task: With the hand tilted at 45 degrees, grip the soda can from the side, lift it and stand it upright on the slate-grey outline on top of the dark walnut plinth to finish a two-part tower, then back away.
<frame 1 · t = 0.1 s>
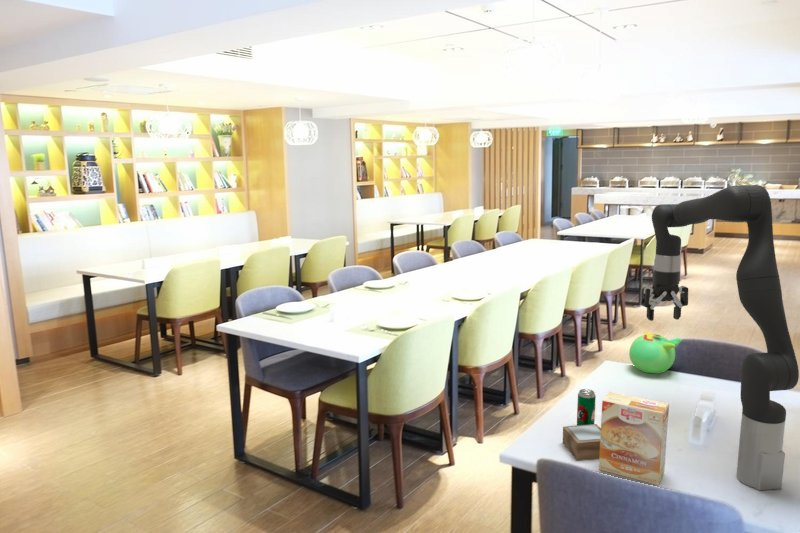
hand: (663, 319, 191), 29 cm above the table, tool pointing down, fingers open, 8 cm apart
coffeecake box: (631, 472, 158), on the table
soda can: (585, 430, 182), on the table
walnut plinth: (586, 449, 170), on the table
toy bird: (652, 371, 228), on the table
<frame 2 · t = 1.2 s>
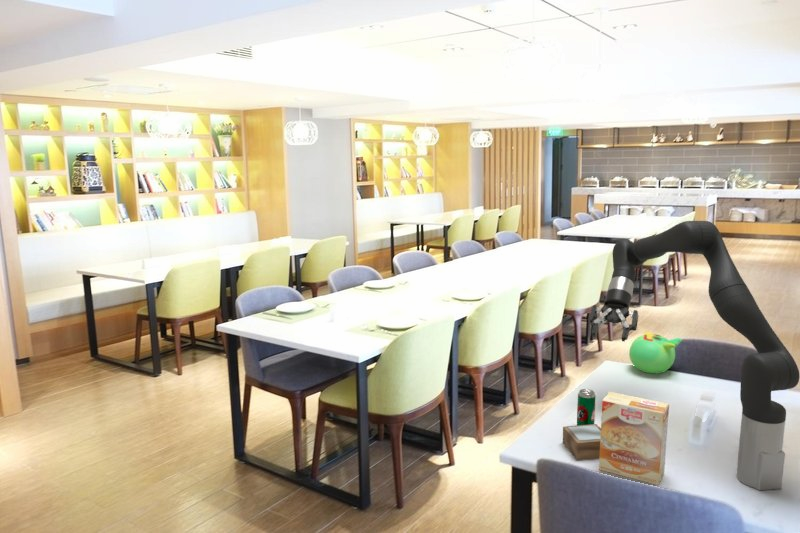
hand: (608, 338, 188), 25 cm above the table, tool tilted 45°, fingers open, 8 cm apart
nothing on the table moved.
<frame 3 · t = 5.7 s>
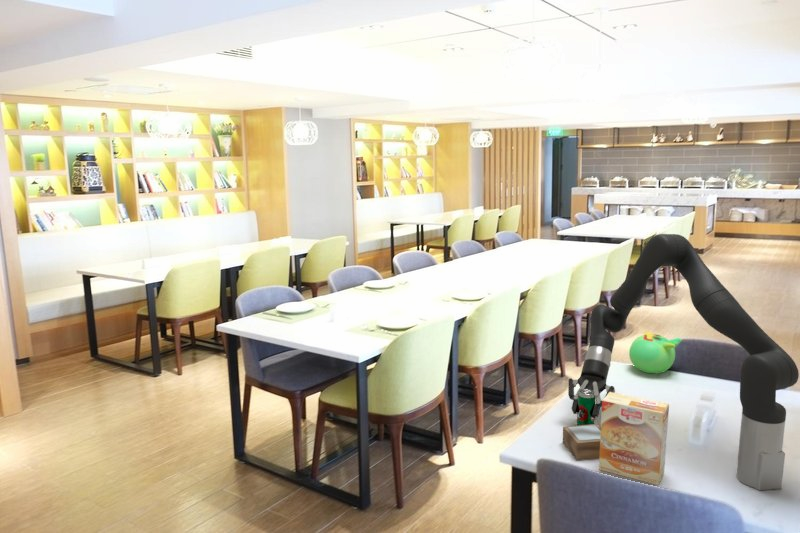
hand: (584, 414, 180), 5 cm above the table, tool tilted 45°, fingers closed on soda can, 5 cm apart
soda can: (585, 430, 182), on the table, touching gripper
everything else where it was.
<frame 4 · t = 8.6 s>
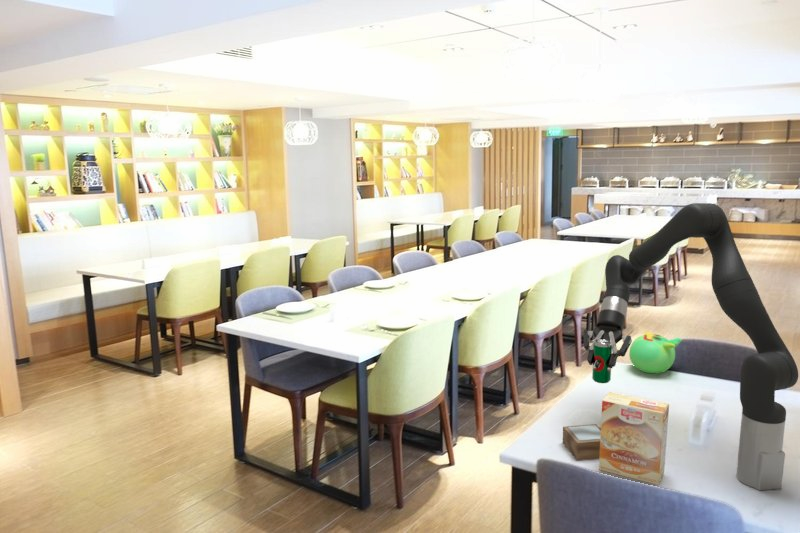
hand: (600, 365, 175), 21 cm above the table, tool tilted 45°, fingers closed on soda can, 5 cm apart
soda can: (601, 381, 178), point 16 cm above the table, touching gripper
everything else where it was.
when the fingers open (12 cm above the table, at t = 11.8 s): soda can drops 1 cm, resting on walnut plinth.
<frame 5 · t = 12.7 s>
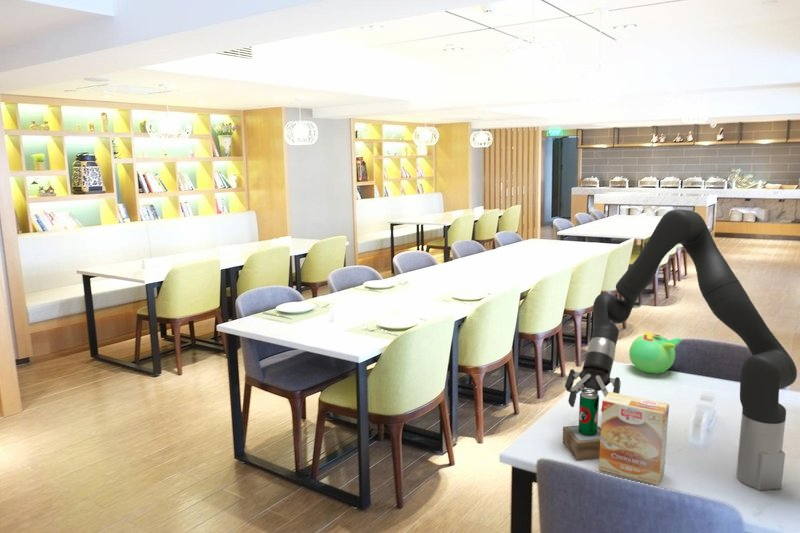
hand: (587, 409, 167), 13 cm above the table, tool tilted 45°, fingers open, 8 cm apart
soda can: (587, 432, 169), point 5 cm above the table, touching walnut plinth
everything else where it was.
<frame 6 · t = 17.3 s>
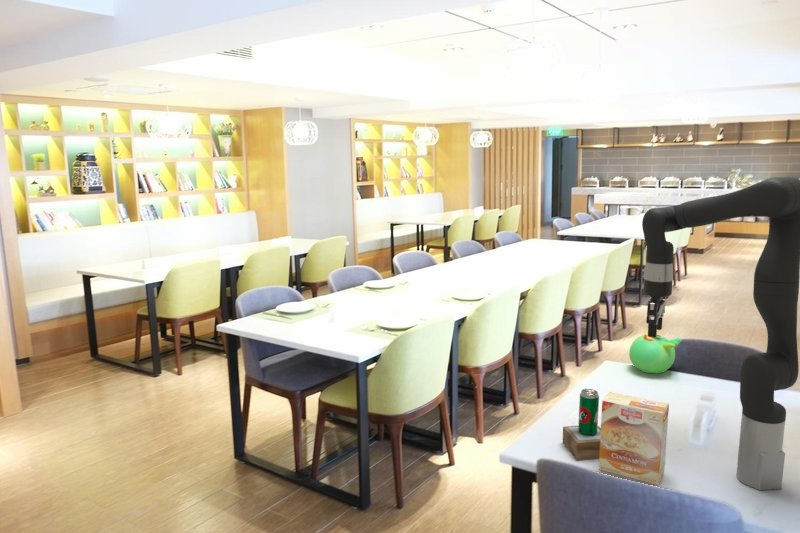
hand: (654, 333, 175), 30 cm above the table, tool pointing down, fingers open, 8 cm apart
nothing on the table moved.
at the end: soda can 0.2 cm off-centre on the walnut plinth, point 5.0 cm above the walnut plinth's base; soda can tilted 1°; the gripper is holding nothing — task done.
